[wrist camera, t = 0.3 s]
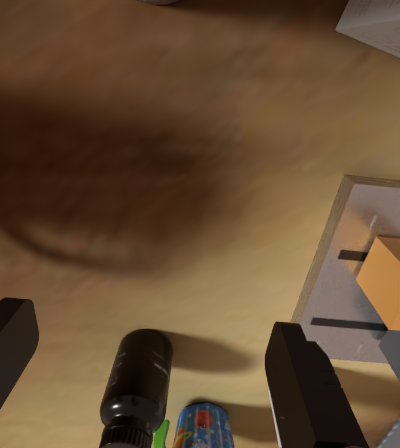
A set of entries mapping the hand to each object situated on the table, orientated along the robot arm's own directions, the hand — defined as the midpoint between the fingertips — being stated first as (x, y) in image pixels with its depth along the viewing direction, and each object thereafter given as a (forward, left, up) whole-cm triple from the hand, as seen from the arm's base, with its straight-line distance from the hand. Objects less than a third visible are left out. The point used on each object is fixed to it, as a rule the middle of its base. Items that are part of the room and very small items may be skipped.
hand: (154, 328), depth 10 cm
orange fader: (+7, +19, -16) cm, 25 cm away
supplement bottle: (+25, -3, -18) cm, 31 cm away
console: (+11, +22, -18) cm, 30 cm away
